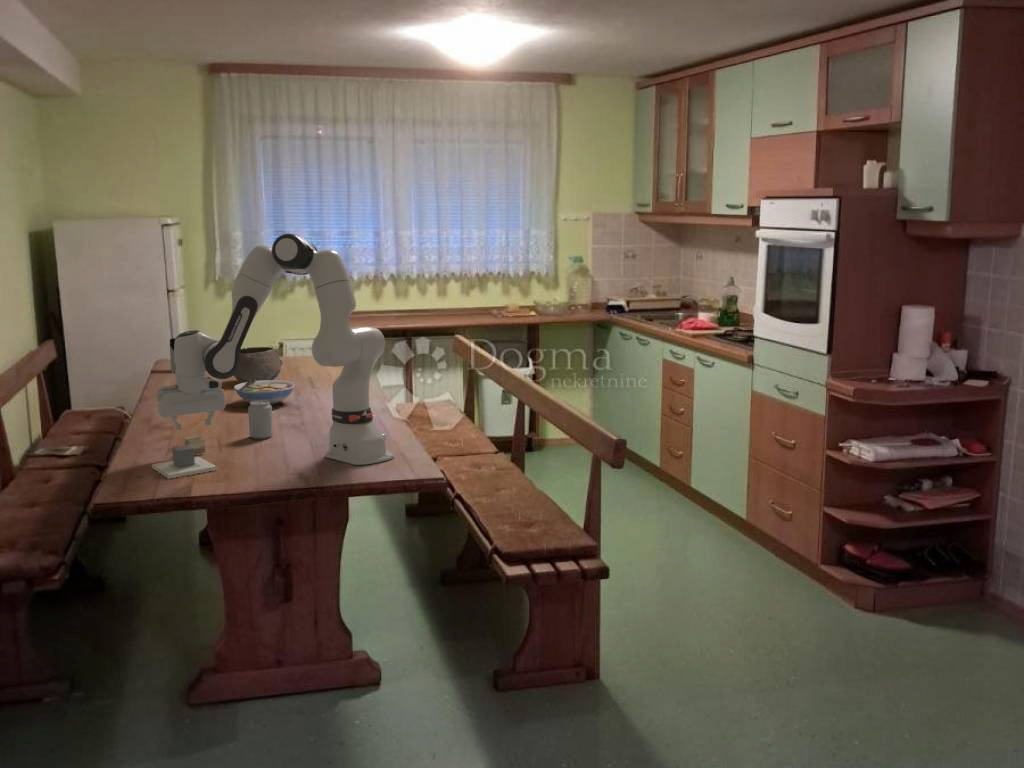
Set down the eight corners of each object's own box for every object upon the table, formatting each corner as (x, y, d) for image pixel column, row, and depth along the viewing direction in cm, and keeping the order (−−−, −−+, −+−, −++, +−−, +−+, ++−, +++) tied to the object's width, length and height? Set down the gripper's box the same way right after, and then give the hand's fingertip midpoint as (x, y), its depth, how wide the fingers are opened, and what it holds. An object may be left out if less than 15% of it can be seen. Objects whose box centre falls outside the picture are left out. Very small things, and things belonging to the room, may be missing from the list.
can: (250, 440, 312) (248, 404, 310) (249, 435, 319) (247, 400, 317) (273, 439, 314) (271, 403, 312) (272, 433, 321) (270, 398, 319)
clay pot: (256, 390, 393) (254, 354, 390) (221, 385, 404) (219, 350, 401) (292, 382, 411) (291, 347, 408) (258, 377, 421) (256, 343, 418)
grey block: (194, 465, 278) (193, 448, 277) (179, 467, 275) (178, 451, 274) (188, 461, 282) (187, 445, 281) (173, 464, 279) (172, 447, 278)
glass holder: (172, 370, 438) (169, 337, 435) (204, 369, 440) (202, 337, 438) (168, 373, 430) (166, 340, 427) (201, 372, 432) (199, 340, 429)
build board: (216, 470, 278) (216, 465, 277) (168, 479, 269) (168, 474, 269) (198, 460, 288) (198, 455, 288) (151, 468, 280) (151, 463, 279)
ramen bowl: (287, 411, 354) (287, 390, 353) (226, 411, 354) (225, 389, 353) (302, 397, 379) (301, 377, 377) (244, 397, 379) (243, 377, 377)
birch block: (205, 454, 295) (204, 438, 294) (190, 456, 293) (189, 441, 292) (199, 451, 299) (198, 435, 298) (185, 453, 296) (184, 438, 295)
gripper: (160, 389, 283) (162, 434, 286) (226, 381, 296) (228, 424, 299) (153, 385, 288) (155, 429, 291) (218, 378, 301) (220, 420, 303)
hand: (193, 427), depth 295 cm, fingers open, 8 cm apart
